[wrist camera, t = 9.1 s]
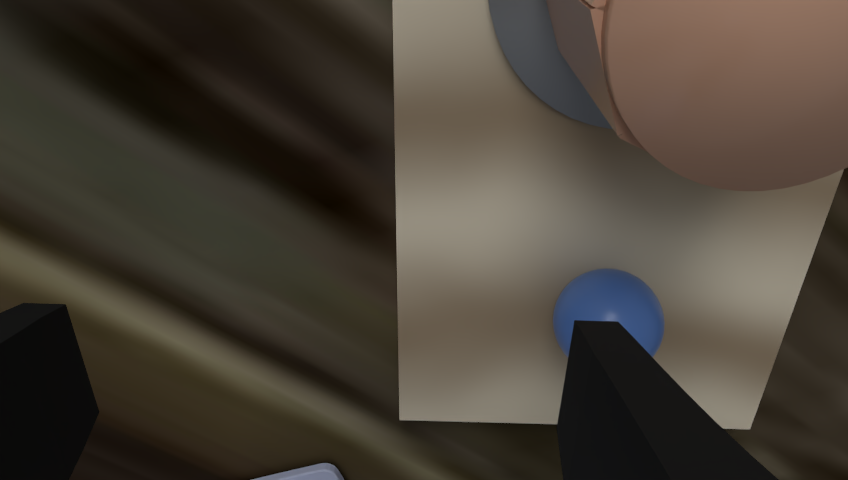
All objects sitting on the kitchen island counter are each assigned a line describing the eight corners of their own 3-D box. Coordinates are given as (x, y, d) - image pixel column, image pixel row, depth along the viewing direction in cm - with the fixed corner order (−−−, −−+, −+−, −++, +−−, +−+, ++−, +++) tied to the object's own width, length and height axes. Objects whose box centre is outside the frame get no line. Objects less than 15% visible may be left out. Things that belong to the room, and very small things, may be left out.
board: (737, 408, 22) (753, 435, 21) (401, 399, 23) (398, 426, 22) (990, -333, 13) (1043, -354, 11) (390, -333, 13) (385, -354, 12)
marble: (654, 317, 19) (687, 385, 17) (558, 341, 20) (576, 410, 17) (637, 236, 18) (669, 296, 15) (534, 265, 19) (549, 327, 16)
